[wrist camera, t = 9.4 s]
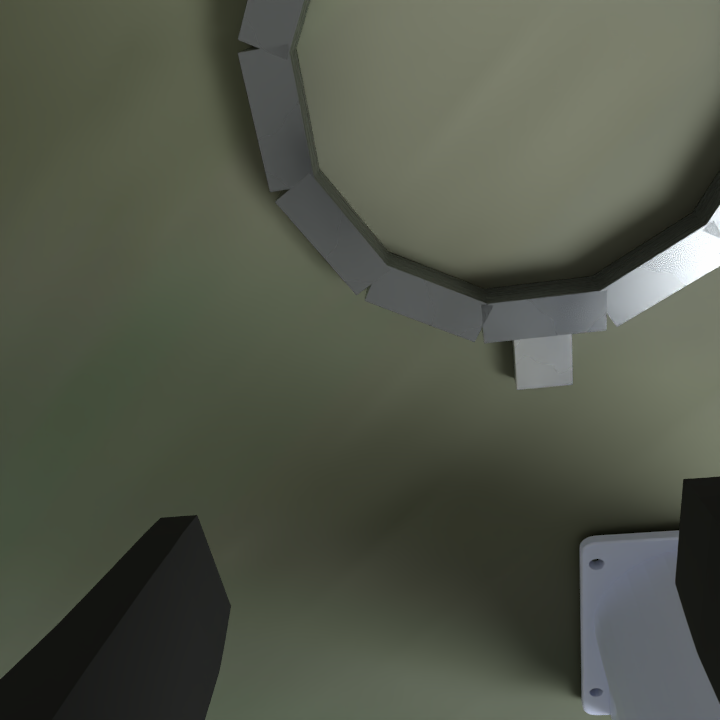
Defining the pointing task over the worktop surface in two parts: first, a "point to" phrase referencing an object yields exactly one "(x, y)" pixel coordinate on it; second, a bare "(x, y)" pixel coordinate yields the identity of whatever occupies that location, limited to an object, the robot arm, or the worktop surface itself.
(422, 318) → the collar
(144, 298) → the worktop surface
